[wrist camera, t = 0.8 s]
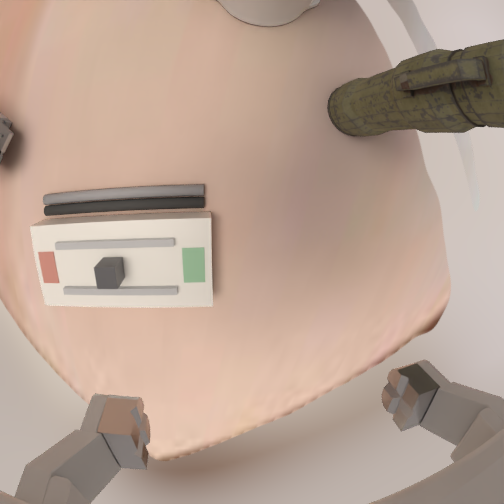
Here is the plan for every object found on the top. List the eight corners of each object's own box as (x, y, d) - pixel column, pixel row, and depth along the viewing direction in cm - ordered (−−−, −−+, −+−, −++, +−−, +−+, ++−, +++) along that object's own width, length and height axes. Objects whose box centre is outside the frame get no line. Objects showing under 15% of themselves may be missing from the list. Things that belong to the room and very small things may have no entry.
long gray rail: (47, 194, 38) (42, 195, 36) (203, 184, 42) (203, 184, 40) (49, 214, 39) (44, 216, 37) (203, 206, 43) (203, 208, 41)
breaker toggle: (103, 257, 37) (93, 267, 34) (122, 257, 38) (114, 267, 34) (105, 277, 38) (97, 289, 35) (125, 277, 39) (117, 289, 35)
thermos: (385, 133, 43) (578, 143, 10) (324, 140, 42) (536, 140, 10) (376, 84, 40) (559, 47, 8) (313, 86, 39) (501, 4, 7)
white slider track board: (44, 219, 39) (26, 228, 33) (210, 211, 43) (211, 219, 38) (57, 292, 43) (43, 307, 37) (212, 291, 47) (213, 309, 42)
